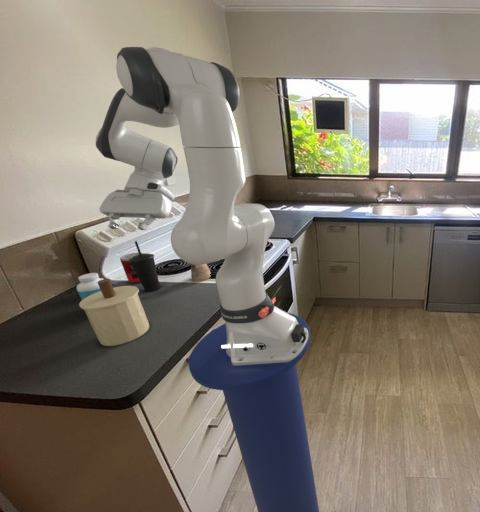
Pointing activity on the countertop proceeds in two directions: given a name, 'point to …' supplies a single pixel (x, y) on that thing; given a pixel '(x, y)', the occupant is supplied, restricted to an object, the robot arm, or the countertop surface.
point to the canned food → (129, 268)
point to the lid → (108, 296)
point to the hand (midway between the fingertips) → (127, 228)
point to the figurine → (200, 272)
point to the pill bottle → (88, 285)
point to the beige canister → (119, 322)
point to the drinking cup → (145, 270)
